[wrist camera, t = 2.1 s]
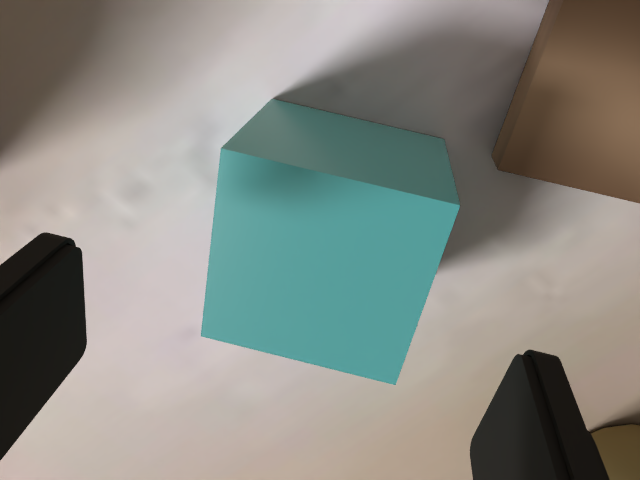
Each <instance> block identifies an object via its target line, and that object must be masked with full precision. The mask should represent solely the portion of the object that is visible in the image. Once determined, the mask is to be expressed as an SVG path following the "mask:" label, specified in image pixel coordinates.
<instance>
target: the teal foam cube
mask: <svg viewBox="0 0 640 480" xmlns="http://www.w3.org/2000/svg"><path fill="white" fill-rule="evenodd" d="M459 208H460V202H459V198H458V194H457V190H456V186H455V182H454V178H453V173H452V169H451V165H450V161H449V157H448V153H447V149H446V145H445V141H444V139H442V138H437V137H433V136H429V135H425V134H420V133H416V132H412V131H408V130H403V129H399V128H395V127H391V126H386V125H382V124H378V123H373V122H369V121H365V120H361V119H356V118H352V117H348V116H344V115H339V114H335V113H331V112H327V111H322V110H318V109H314V108H309V107H305V106H301V105H297V104H292V103H288V102H284V101H280V100H275V99H271V100H270V101H269V102H268V103H267V104H266V105H265V106H264V107H263V108H262V109H261V110H260V111H259V112H258V113H257V114H256V115H255V116H254V117H253V118H252V119H251V120H250V121H248V122H247V123H246V124H245V125H244V126H243V127H242V128H241V129H240V130H239V131H238V132H237V133H236V134H235V135H234V136H233V137H232V138H231V139H230V140H229V141H228V142H227V143H226V144H225V145H224V146H223V147H222V148H221V153H220V162H219V171H218V181H217V190H216V199H215V209H214V218H213V227H212V237H211V246H210V255H209V265H208V274H207V283H206V293H205V302H204V311H203V321H202V330H201V336H202V337H206V338H210V339H214V340H218V341H222V342H226V343H230V344H234V345H238V346H242V347H246V348H250V349H254V350H258V351H262V352H266V353H270V354H274V355H278V356H282V357H286V358H290V359H294V360H298V361H302V362H306V363H310V364H314V365H318V366H322V367H326V368H330V369H334V370H338V371H342V372H346V373H350V374H353V375H357V376H361V377H365V378H369V379H373V380H377V381H381V382H385V383H389V384H393V385H396V382H397V379H398V376H399V374H400V371H401V368H402V365H403V363H404V360H405V357H406V354H407V352H408V349H409V346H410V343H411V340H412V338H413V335H414V332H415V329H416V327H417V324H418V321H419V318H420V316H421V313H422V310H423V307H424V305H425V302H426V299H427V296H428V293H429V291H430V288H431V285H432V282H433V280H434V277H435V274H436V271H437V269H438V266H439V263H440V260H441V257H442V255H443V252H444V249H445V246H446V244H447V241H448V238H449V235H450V233H451V230H452V227H453V224H454V222H455V219H456V216H457V213H458V210H459Z"/></svg>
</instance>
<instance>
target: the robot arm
mask: <svg viewBox="0 0 640 480" xmlns="http://www.w3.org/2000/svg"><path fill="white" fill-rule="evenodd" d="M86 344H87V337H86V318H85V299H84V281H83V262H82V251H81V249H80V248H79V247H76V245H75V242H74V240H72V239H71V238H67V237H63V236H59V235H55V234H50V233H42V234H40V235H38V236H37V237H36V238H34V239H33V240H32V241H31V242H29V243H28V244H27V245H25V246H24V247H23V248H22V249H20V250H19V251H18V252H17V253H15V254H14V255H13V256H11V257H10V258H9V259H8V260H6V261H5V262H4V263H2V264H1V265H0V460H1V459H2V458H3V457H4V455H5V454H6V453H7V452H8V450H9V449H10V448H11V446H12V445H13V444H14V443H15V441H16V440H17V439H18V438H19V436H20V435H21V434H22V433H23V431H24V430H25V429H26V427H27V426H28V425H29V424H30V422H31V421H32V420H33V419H34V417H35V416H36V415H37V413H38V412H39V411H40V410H41V408H42V407H43V406H44V405H45V403H46V402H47V401H48V400H49V398H50V397H51V396H52V394H53V393H54V392H55V391H56V389H57V388H58V387H59V386H60V384H61V383H62V382H63V381H64V379H65V378H66V377H67V375H68V374H69V373H70V372H71V370H72V369H73V368H74V367H75V365H76V364H77V363H78V361H79V360H80V359H81V357H82V356H83V354H84V351H85V349H86ZM470 459H471V466H472V474H473V480H610V479H609V476H608V474H607V471H606V469H605V466H604V463H603V461H602V458H601V456H600V453H599V451H598V448H597V445H596V443H595V441H594V439H593V437H592V435H591V434H590V433H589V432H588V431H587V429H586V426H585V424H584V421H583V419H582V416H581V413H580V411H579V408H578V405H577V403H576V400H575V398H574V395H573V392H572V390H571V387H570V384H569V382H568V379H567V377H566V374H565V371H564V369H563V366H562V363H561V361H560V359H559V358H558V357H557V356H554V355H550V354H546V353H542V352H538V351H534V350H527V351H526V352H525V353H524V354H523V355H520V354H517V355H516V356H515V357H514V359H513V360H512V362H511V364H510V366H509V368H508V370H507V372H506V374H505V376H504V378H503V380H502V382H501V384H500V386H499V387H498V389H497V391H496V393H495V395H494V397H493V399H492V401H491V403H490V405H489V407H488V409H487V411H486V413H485V415H484V416H483V418H482V420H481V422H480V424H479V426H478V428H477V430H476V432H475V434H474V436H473V438H472V441H471V446H470Z"/></svg>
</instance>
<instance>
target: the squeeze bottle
mask: <svg viewBox="0 0 640 480" xmlns="http://www.w3.org/2000/svg"><path fill="white" fill-rule="evenodd" d="M591 435H592V437H593V439H594V441H595V443H596V445H597V448H598V451H599V453H600V456H601V458H602V461H603V463H604V466H605V469H606V471H607V474H608V476H609V479H610V480H640V425H634V424H630V425H623V426H615V427H608V428H603V429H600V430H598V431H596V432H593V433H591Z"/></svg>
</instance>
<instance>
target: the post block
mask: <svg viewBox="0 0 640 480" xmlns="http://www.w3.org/2000/svg"><path fill="white" fill-rule="evenodd" d="M491 156H492V158H493V161H494V163H495V165H496V167H497V169H498V170H501V171H505V172H509V173H513V174H518V175H522V176H526V177H530V178H535V179H539V180H543V181H547V182H552V183H556V184H560V185H564V186H569V187H573V188H577V189H581V190H586V191H590V192H594V193H598V194H602V195H607V196H611V197H615V198H619V199H624V200H628V201H632V202H636V203H640V0H549V3H548V6H547V8H546V11H545V14H544V16H543V19H542V22H541V24H540V27H539V30H538V32H537V35H536V38H535V40H534V43H533V46H532V48H531V51H530V54H529V56H528V59H527V62H526V64H525V67H524V70H523V72H522V75H521V78H520V80H519V83H518V86H517V88H516V91H515V94H514V96H513V99H512V102H511V104H510V107H509V110H508V112H507V115H506V118H505V120H504V123H503V126H502V128H501V131H500V134H499V136H498V139H497V142H496V145H495V147H494V150H493V153H492V155H491Z"/></svg>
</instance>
